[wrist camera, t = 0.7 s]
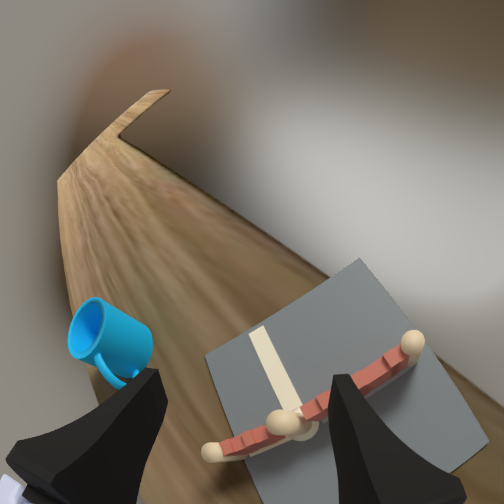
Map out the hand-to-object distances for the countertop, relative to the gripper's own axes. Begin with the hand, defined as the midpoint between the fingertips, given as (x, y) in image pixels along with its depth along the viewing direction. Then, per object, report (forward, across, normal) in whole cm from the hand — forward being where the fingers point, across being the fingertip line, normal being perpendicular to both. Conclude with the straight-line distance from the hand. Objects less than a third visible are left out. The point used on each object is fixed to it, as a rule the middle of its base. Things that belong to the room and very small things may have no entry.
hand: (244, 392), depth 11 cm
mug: (+19, +17, +16) cm, 30 cm away
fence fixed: (+8, -1, +15) cm, 17 cm away
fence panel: (+9, -9, +9) cm, 16 cm away
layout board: (+9, -6, +12) cm, 16 cm away
